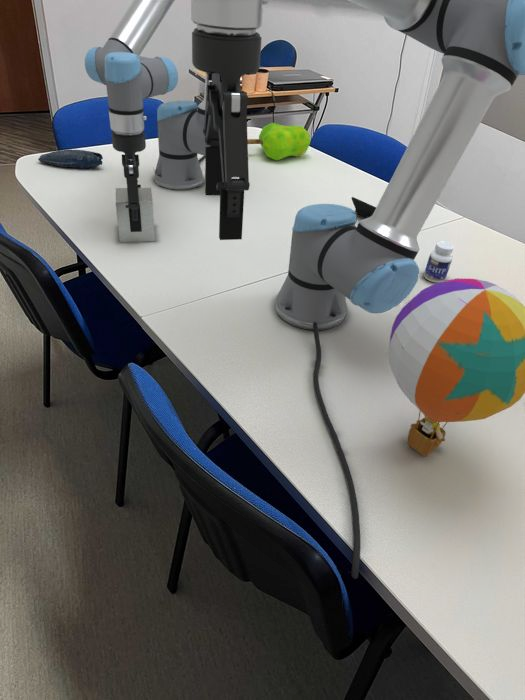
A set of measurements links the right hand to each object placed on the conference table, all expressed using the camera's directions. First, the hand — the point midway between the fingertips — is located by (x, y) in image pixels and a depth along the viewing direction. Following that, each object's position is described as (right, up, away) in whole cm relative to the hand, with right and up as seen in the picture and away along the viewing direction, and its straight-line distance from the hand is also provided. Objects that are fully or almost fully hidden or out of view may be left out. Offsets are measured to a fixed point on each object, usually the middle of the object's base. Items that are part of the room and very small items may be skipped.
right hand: (222, 215), depth 69 cm
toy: (+31, -34, +15) cm, 48 cm away
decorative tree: (+8, +53, +120) cm, 132 cm away
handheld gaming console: (+38, +21, +84) cm, 95 cm away
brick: (-27, +12, +65) cm, 72 cm away
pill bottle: (+48, 0, +59) cm, 76 cm away
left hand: (-27, +15, +64) cm, 71 cm away
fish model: (-56, +42, +99) cm, 121 cm away
